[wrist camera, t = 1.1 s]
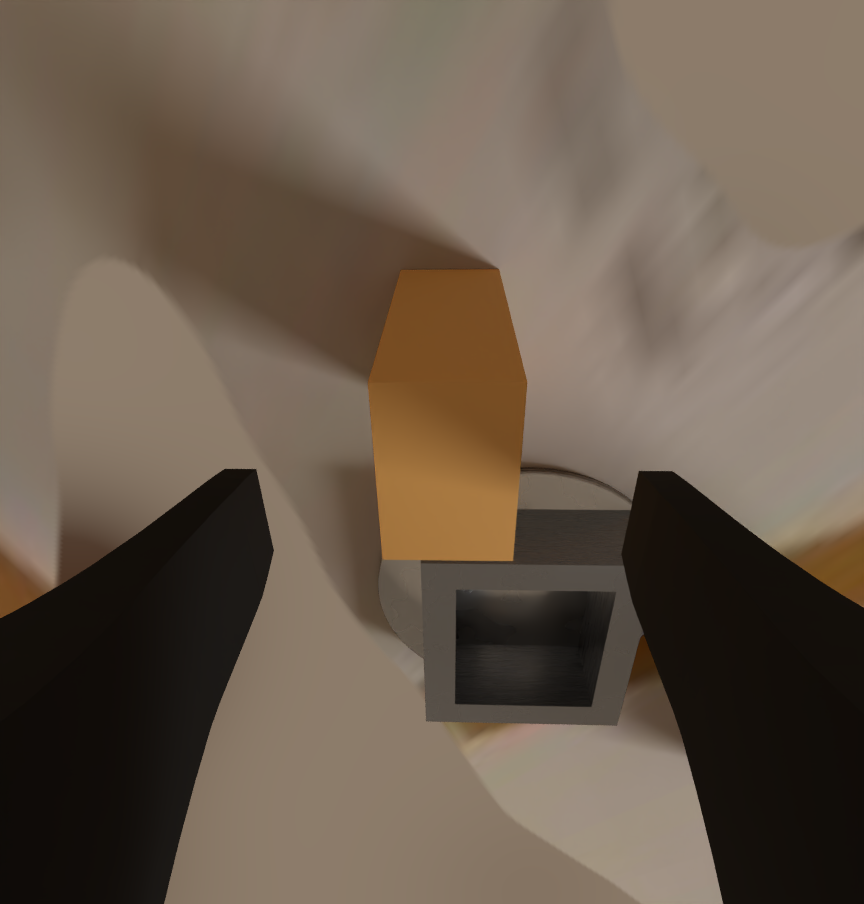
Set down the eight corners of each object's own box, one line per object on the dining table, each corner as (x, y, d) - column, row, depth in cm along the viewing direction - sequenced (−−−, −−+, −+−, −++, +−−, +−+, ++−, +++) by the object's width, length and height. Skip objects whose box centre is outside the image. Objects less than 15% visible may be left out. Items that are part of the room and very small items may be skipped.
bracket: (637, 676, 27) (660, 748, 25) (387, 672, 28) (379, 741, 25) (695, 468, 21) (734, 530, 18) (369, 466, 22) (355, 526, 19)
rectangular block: (499, 268, 18) (526, 382, 11) (493, 400, 20) (513, 561, 13) (400, 269, 18) (367, 382, 11) (406, 400, 20) (382, 559, 13)
